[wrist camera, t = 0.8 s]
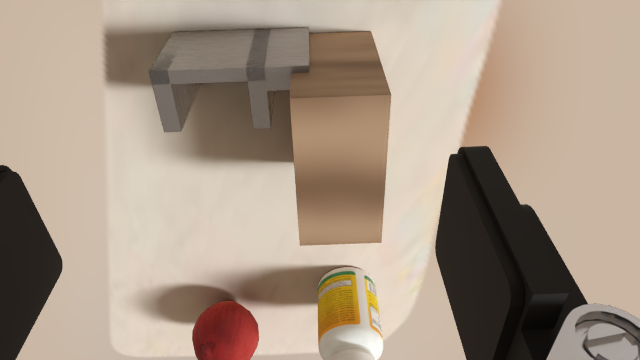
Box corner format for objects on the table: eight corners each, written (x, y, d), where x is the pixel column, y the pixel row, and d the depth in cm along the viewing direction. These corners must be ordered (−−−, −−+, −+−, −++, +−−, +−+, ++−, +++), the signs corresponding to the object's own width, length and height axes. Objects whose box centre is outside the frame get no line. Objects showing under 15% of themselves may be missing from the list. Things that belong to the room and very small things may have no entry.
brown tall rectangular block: (293, 34, 31) (289, 98, 24) (370, 31, 31) (391, 94, 24) (300, 162, 37) (299, 245, 30) (366, 160, 37) (381, 242, 30)
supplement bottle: (384, 274, 45) (401, 369, 37) (357, 309, 48) (367, 403, 40) (332, 257, 43) (338, 352, 36) (307, 294, 46) (308, 389, 38)
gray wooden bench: (173, 32, 31) (148, 71, 26) (308, 27, 31) (309, 65, 26) (184, 86, 33) (164, 132, 28) (310, 82, 33) (311, 127, 28)
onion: (204, 322, 48) (188, 399, 42) (196, 282, 45) (178, 360, 38) (263, 321, 48) (256, 398, 42) (259, 282, 45) (252, 359, 38)
